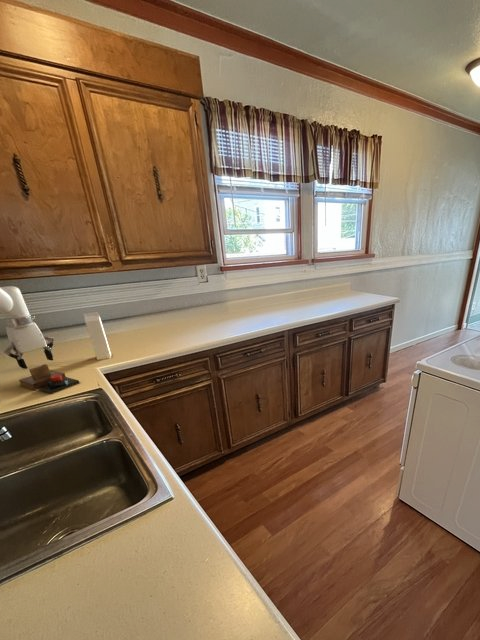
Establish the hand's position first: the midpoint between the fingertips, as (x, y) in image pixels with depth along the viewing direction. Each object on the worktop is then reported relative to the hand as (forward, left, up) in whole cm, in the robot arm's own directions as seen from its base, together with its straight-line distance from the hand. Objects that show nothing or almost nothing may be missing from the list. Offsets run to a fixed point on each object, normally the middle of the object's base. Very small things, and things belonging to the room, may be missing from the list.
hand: (37, 363), depth 130 cm
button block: (0, -11, -8) cm, 13 cm away
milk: (+31, +6, -9) cm, 32 cm away
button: (0, -11, -5) cm, 12 cm away
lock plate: (0, 0, -8) cm, 8 cm away
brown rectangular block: (0, 0, -5) cm, 5 cm away
